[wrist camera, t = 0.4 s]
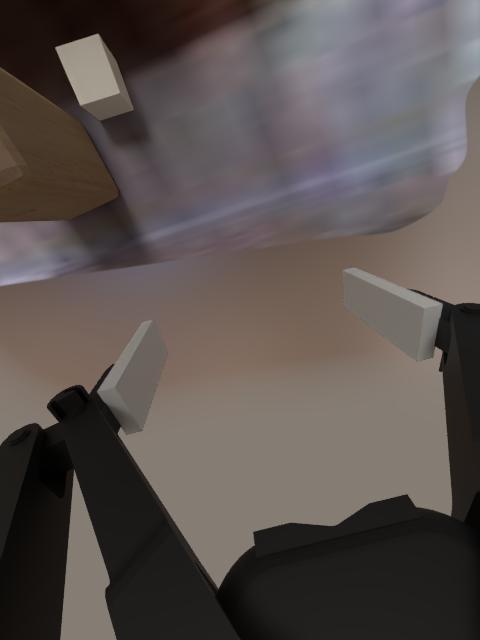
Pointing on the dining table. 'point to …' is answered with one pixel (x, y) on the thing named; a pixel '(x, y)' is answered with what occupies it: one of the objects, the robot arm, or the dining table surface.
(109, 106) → the cream cube
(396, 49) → the dining table surface
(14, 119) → the wooden block
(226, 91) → the dining table surface
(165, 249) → the dining table surface
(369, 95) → the dining table surface
